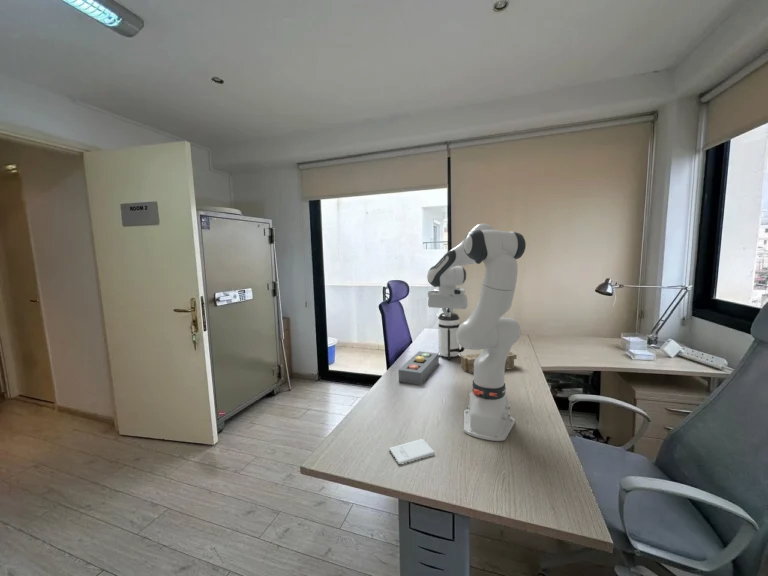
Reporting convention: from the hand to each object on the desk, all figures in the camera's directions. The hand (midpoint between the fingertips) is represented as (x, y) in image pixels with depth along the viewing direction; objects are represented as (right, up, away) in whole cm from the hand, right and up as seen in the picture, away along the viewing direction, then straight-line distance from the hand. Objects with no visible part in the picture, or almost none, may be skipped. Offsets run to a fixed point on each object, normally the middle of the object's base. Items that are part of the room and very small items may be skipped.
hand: (447, 316), depth 162 cm
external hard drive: (-24, -39, -61) cm, 77 cm away
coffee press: (+8, -28, +31) cm, 42 cm away
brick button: (-18, -27, -2) cm, 33 cm away
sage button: (-9, -25, +16) cm, 31 cm away
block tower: (+25, -30, +10) cm, 40 cm away
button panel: (-13, -31, +8) cm, 35 cm away
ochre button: (-14, -25, +7) cm, 29 cm away
